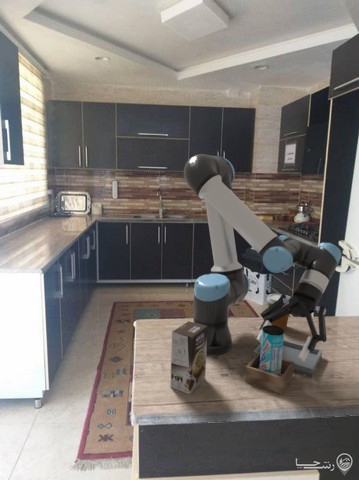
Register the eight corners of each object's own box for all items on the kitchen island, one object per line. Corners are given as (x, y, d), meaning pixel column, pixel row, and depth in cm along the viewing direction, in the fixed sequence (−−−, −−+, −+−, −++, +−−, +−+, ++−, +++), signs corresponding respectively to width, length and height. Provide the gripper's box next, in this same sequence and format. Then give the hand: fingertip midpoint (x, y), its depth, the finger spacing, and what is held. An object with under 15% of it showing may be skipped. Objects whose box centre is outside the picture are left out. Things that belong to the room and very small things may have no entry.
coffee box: (190, 395, 92) (192, 337, 89) (169, 387, 95) (170, 331, 92) (206, 379, 99) (208, 325, 97) (186, 372, 103) (188, 320, 100)
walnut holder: (244, 381, 99) (245, 366, 98) (258, 365, 108) (259, 351, 107) (282, 394, 93) (283, 379, 92) (293, 376, 102) (294, 361, 101)
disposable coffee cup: (291, 333, 130) (294, 302, 128) (265, 330, 132) (267, 300, 130) (289, 323, 140) (291, 294, 137) (264, 320, 141) (266, 292, 139)
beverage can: (262, 371, 104) (265, 323, 102) (282, 377, 101) (286, 328, 99) (256, 380, 99) (259, 330, 97) (276, 387, 96) (281, 336, 94)
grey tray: (252, 358, 111) (253, 351, 111) (267, 342, 123) (267, 335, 122) (312, 377, 102) (312, 369, 101) (321, 357, 113) (322, 350, 113)
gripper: (356, 306, 99) (325, 374, 92) (279, 285, 117) (248, 340, 110) (349, 292, 94) (317, 362, 87) (270, 272, 113) (238, 329, 106)
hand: (279, 350), depth 99 cm, fingers open, 13 cm apart
